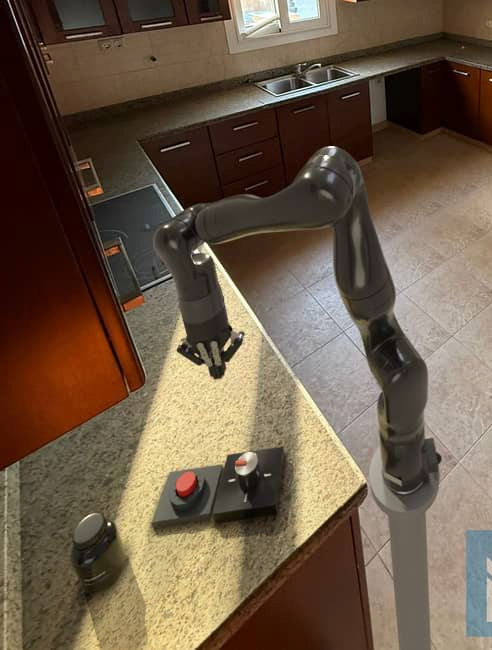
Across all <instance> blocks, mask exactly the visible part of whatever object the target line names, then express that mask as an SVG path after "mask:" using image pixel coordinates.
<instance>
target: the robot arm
mask: <svg viewBox="0 0 492 650" xmlns="http://www.w3.org/2000/svg"><path fill="white" fill-rule="evenodd" d="M364 179H365V178H364V176H363V172H362V170H361V168H360V165H359V164H358V162H357V161H356V159H355V158H354V157H353V156H352V155H351V154H350V153H349V152H348V151H346V150H345V149H342V148H340V147H338V146H325V147H322V148H320V149H318V150H317V151H316V152H315V153H314V154H313V155H311V157H309V159H308V160H307V162H306V163H305V164H304V165H303V167H302V168H301V169H300V171H298V173H297V174H296V176H295V178H294V179H293V181H292V183H291V184H290V185H288V186H287V187H285V188H284V189H281V190H279V191H278V192H276V193H274V194H272V195H269V196H266V197H260V196H256V195H254V194H249V193H243V194H236V195H232V196H228V197H225V198H223V199H220V200H217V201H214V202H205V203H204V202H202V203H197V204H193V205H191V206H189V207H187V208H185V209H183V210H181V211H180V212H179V213H177V214H176V215H175V216H173V217H171V218H170V219H168V220H167V221H166V222H164V223H162V224H161V225H160V226H159V227H158V228H157V229H156V230H155V231H154V233H153V238H152V247H153V250H154V253H155V254H156V255H157V257H158V258H159V259H160V260H161V261H162V264H163V265H164V266H165V268H166V269H167V271H168V272H169V274H170V275H171V277H172V279H173V282H174V285H175V286H174V287H175V289H176V293H177V298H178V307H179V311H180V316H181V320H182V324H183V327H184V331H185V334H186V335H185V337H182V338H181V339H180V341H179V343H178V346H177V348H176V353H178V354H179V355H181V356H183V357H184V358H185V359H187V360H189V361H190V362H192V363H193V364H195V365H196V366H203V365H205V366H206V367H207V368H208V373H209V376H210V377H211V378H213V381H215V380H221V379H223V377H224V376H225V373H226V370H227V365H226V363H230V361H231V359H233V357H234V356H235V355H236V353H237V352H238V350H239V349H240V347H241V346H242V345H243V341H244V338H245V335H246V332H245V331H243V330H242V331H241V330H240V331H239V332H237V331H234V328H233V327H232V325H231V324H230V323H229V317H228V311H227V307H226V303H225V295H224V293H223V290H222V287H221V284H220V281H219V278H218V273H217V268H216V264H215V261H214V259H213V257H212V256H211V254H208V253H205V252H195V251H196V250H197V249H198V248H200V247H201V246H203V245H204V244H205V243H206V244H209V245H218V244H224V243H227V242H231V241H234V240H239V239H241V238H245V237H249V236H253V235H258V234H259V235H260V234H267V233H281V232H283V233H284V232H294V231H311V230H320V229H326V228H330V227H331V230H332V231H331V232H332V264H333V267H332V268H333V276H334V283H335V286H336V288H337V291H338V293H339V296H340V298H341V301H342V304H343V306H344V307H345V309H346V312H347V314H348V315H349V317H350V319H351V321H352V322H353V324H354V325H355V327H356V328H357V329H358V332H359V334H360V337H361V341H362V346H363V350H364V354H365V358H366V362H367V366H368V369H369V370H370V373H371V374H372V376H373V378H374V380H375V382H376V383H377V385H378V387H379V389H380V390H381V392H380V393H379V395H378V397H377V402H376V412H377V413H376V414H377V423H378V436H379V446H380V449H381V461H382V477H383V480H384V483H385V485H386V486H387V488H388V489H389V490H390V491H391V492H393V493H395V494H397V495H401V496H407V495H411V494H413V493H415V492H416V491H418V490H419V489H420V488H421V486H422V485H423V484H426V483H428V474H429V473H435V472H438V464H439V465H440V464H441V463H442V461H443V458H442V455H441V454H440V453H439V452H438V451H437V450H436V443H435V438H434V437H428V438H426V433H425V432H426V431H425V409H426V406H427V403H428V397H429V370H428V365H427V363H426V361H425V360H424V358H423V357H422V355H421V354H420V353H419V351H418V350H417V349H416V347H415V346H414V344H413V343H412V341H411V340H410V338H408V337H407V335H406V333H404V331H403V329H402V327H401V326H400V323H399V322H398V319H397V317H396V314H395V311H394V308H395V305H396V300H397V293H396V292H397V291H396V287H395V283H394V280H393V276H392V274H391V271H390V267H389V265H388V262H387V260H386V257H385V254H384V251H383V248H382V245H381V242H380V239H379V235H378V233H377V230H376V227H375V225H374V221H373V218H372V213H371V209H370V205H369V198H368V195H367V194H368V193H367V190H366V184H365V180H364ZM194 252H195V253H194ZM229 340H230V344H229V345H228V347H227V348H226V350H225V346H226V345H227V343H228V342H229Z"/></svg>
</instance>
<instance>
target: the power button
mask: <svg viewBox="0 0 492 650" xmlns="http://www.w3.org/2000/svg"><path fill="white" fill-rule="evenodd" d="M196 485H197V480H196V477H195V474H194V473H193V472H186V473H184V474H183V475H181V476H180V478H179V479H178V480H177V483H176V490H177V493H178V495H179V496H180V497H186V496H188V495H190V494H191V493H192V492H193V491H194V489H195V488H196Z"/></svg>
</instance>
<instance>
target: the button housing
mask: <svg viewBox="0 0 492 650" xmlns="http://www.w3.org/2000/svg"><path fill="white" fill-rule="evenodd" d="M223 470H224V465H223V464H215V465H209V466H208V465H207V466H203V467H195V468H189V469H182V470H175V471H169V473H168V476H167V478H166V480H165V484H164V486H163V490H162V492H161V495H160V498H159V500H158V503H157V506H156V508H155V511H154V514H153V517H152V520H151V522H150V523H151V526H152V528H153V529H155V528H156V529H157V528H163V527H168V526H174V525H175V526H176V525H181V524H188V523H195V522H200V521H206V520H207V521H208V520H212V518H213V515H212V513H213V509H214V506H215V502H216V498H217V494H218V490H219V486H220V482H221V478H222V474H223ZM186 472H193V473H194V474H195V477H196V480H197V485H196V488H195V489H194V491H193V492H192V493H191V494H190V495H188V496H186V497H180V496H179V495H178V493H177V490H176V483H177V480H178V479H179V478H180V476H181V475H183V474H184V473H186Z"/></svg>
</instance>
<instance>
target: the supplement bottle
mask: <svg viewBox="0 0 492 650" xmlns="http://www.w3.org/2000/svg"><path fill="white" fill-rule="evenodd" d="M120 534H121V533H120V532H119V529H118V527H117V524H116V522H115V521H114V520H113V519H111V518H107V517H106V516H105V515H104V513H103V512H98V511H96V512H93V513H90V514H88V515H87V516H85V517H84V518H83V519H81V521H80V522H79V523H78V524H77V525H76V527H75V529H74V530H73V532H72V537H71V541H72V547H71V549H70V556H69V557H70V562H71V565H72V567H73V569H74V572H75V574H76V577H77V578H78V581H79V583H80V586H81V587H82V589H83V592H85V593H86V594H89V595H96V594H100V593H102V592H104V591H106V590H107V589H108V588H110V587H111V586H112V585H114V583H115V582H116V580H118V578H119V577H120V575H121V574H122V572H123V569H124V567H125V564H126V562H127V553H126V552H127V551H126V548H125V546H124V543H123V540H122V538H121V535H120Z"/></svg>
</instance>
